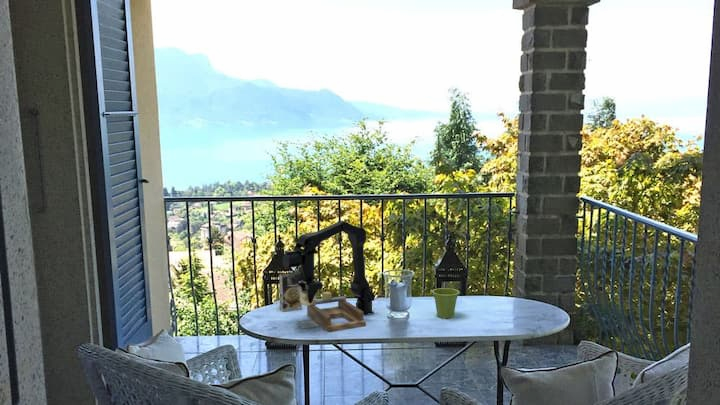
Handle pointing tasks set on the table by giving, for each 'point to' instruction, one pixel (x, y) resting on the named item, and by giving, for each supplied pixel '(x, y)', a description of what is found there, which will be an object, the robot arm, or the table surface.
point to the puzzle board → (337, 316)
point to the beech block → (306, 299)
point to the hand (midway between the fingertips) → (307, 301)
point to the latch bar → (329, 298)
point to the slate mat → (308, 324)
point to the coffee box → (289, 294)
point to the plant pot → (445, 301)
